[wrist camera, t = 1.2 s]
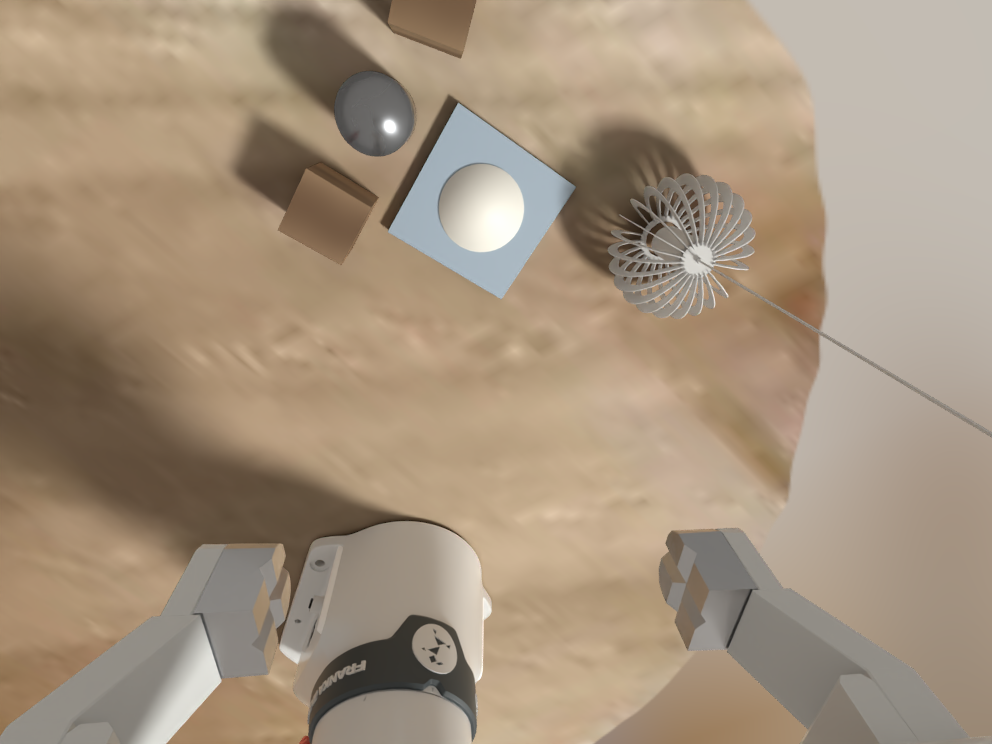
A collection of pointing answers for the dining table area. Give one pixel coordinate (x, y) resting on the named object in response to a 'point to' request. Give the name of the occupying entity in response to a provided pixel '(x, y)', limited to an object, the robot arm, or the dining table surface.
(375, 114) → the metal cylinder
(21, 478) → the dining table surface
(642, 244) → the pendant light
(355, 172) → the dining table surface
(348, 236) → the walnut cube
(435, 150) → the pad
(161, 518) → the dining table surface
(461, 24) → the walnut cube
